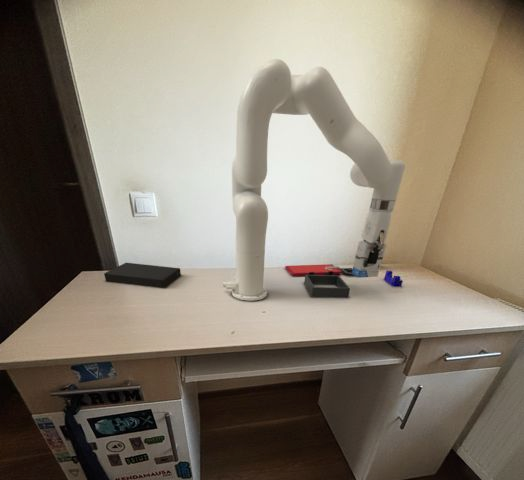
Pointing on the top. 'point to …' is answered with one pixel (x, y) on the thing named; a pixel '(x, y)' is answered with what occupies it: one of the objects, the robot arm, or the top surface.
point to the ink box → (361, 258)
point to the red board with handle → (317, 270)
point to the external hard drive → (143, 275)
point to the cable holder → (393, 279)
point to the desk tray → (338, 291)
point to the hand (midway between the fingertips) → (368, 260)
